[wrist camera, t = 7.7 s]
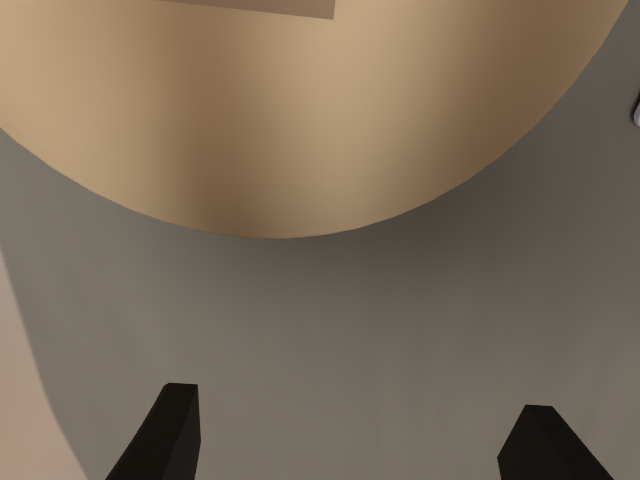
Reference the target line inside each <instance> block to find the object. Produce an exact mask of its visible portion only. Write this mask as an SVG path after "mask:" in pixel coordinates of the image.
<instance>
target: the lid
mask: <svg viewBox="0 0 640 480" xmlns="http://www.w3.org/2000/svg"><path fill="white" fill-rule="evenodd" d="M628 1H629V0H0V128H2V129H3V130H4V131H5V132H6V133H7V134H8V135H10V136H11V137H12V138H13V139H14V140H15V141H17V142H18V143H19V144H21V145H22V146H24V147H25V148H26V149H28V150H29V151H30V152H32V153H33V154H35V155H36V156H37V157H39V158H40V159H41V160H43V161H44V162H45V163H47V164H48V165H50V166H51V167H52V168H54V169H55V170H57V171H59V172H61V173H62V174H64V175H66V176H67V177H69V178H71V179H72V180H74V181H76V182H77V183H79V184H81V185H82V186H84V187H86V188H87V189H89V190H91V191H92V192H95V193H97V194H99V195H101V196H103V197H105V198H107V199H109V200H112V201H114V202H116V203H118V204H120V205H122V206H124V207H126V208H129V209H131V210H133V211H136V212H139V213H142V214H145V215H148V216H150V217H153V218H156V219H159V220H162V221H165V222H167V223H170V224H175V225H179V226H183V227H187V228H191V229H195V230H199V231H203V232H208V233H215V234H222V235H230V236H237V237H245V238H278V239H285V238H297V237H309V236H321V235H326V234H331V233H337V232H342V231H347V230H352V229H357V228H361V227H364V226H367V225H370V224H374V223H377V222H380V221H383V220H386V219H390V218H393V217H396V216H398V215H400V214H403V213H405V212H407V211H409V210H412V209H414V208H416V207H419V206H421V205H423V204H426V203H428V202H430V201H432V200H434V199H436V198H437V197H439V196H441V195H443V194H444V193H446V192H448V191H450V190H451V189H453V188H455V187H457V186H458V185H460V184H462V183H464V182H465V181H467V180H468V179H470V178H471V177H473V176H474V175H475V174H477V173H478V172H480V171H481V170H482V169H484V168H485V167H487V166H488V165H489V164H491V163H492V162H493V161H495V160H496V159H498V158H499V157H500V156H502V155H503V154H504V153H505V152H506V151H507V150H509V149H510V148H511V147H512V146H513V145H514V144H515V143H516V142H518V141H519V140H520V139H521V138H522V137H523V136H524V135H525V134H526V133H528V132H529V131H530V130H531V129H532V128H533V127H534V126H535V125H537V123H538V122H539V121H540V120H541V119H542V118H543V117H544V116H545V115H546V114H547V113H548V111H549V110H550V109H551V108H552V107H553V106H554V105H555V104H556V103H557V102H558V101H559V99H560V98H561V97H562V96H563V95H564V94H565V93H566V92H567V91H568V90H569V88H570V87H571V86H572V85H573V83H574V82H575V81H576V79H577V78H578V77H579V75H580V74H581V73H582V71H583V70H584V68H585V67H586V66H587V64H588V63H589V62H590V60H591V59H592V58H593V56H594V55H595V54H596V52H597V51H598V50H599V48H600V47H601V46H602V44H603V43H604V41H605V39H606V38H607V36H608V34H609V33H610V31H611V29H612V28H613V26H614V24H615V23H616V21H617V19H618V18H619V16H620V14H621V13H622V11H623V9H624V8H625V6H626V4H627V3H628Z"/></svg>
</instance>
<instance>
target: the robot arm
mask: <svg viewBox="0 0 640 480" xmlns="http://www.w3.org/2000/svg"><path fill="white" fill-rule="evenodd" d="M634 122H635V123H636V125H637V126H639V127H640V103H639V105H638V107H637V109H636V111H635V114H634ZM200 444H201V435H200V417H199V399H198V385H197V384H181V383H168V384H166V385H164V386H163V388H162V390H161V392H160V394H159V396H158V398H157V400H156V401H155V403H154V405H153V407H152V408H151V410H150V412H149V413H148V415H147V417H146V418H145V420H144V422H143V423H142V425H141V427H140V428H139V430H138V431H137V433H136V435H135V436H134V438H133V439H132V441H131V442H130V444H129V445H128V447H127V448H126V450H125V451H124V453H123V454H122V456H121V457H120V459H119V460H118V462H117V463H116V465H115V466H114V467H113V469H112V470H111V472H110V473H109V475H108V476H107V478H106V479H105V480H194V479H195V473H196V468H197V462H198V456H199V450H200ZM497 459H498V464H499V470H500V475H501V480H614V479H613V478H612V477H611V476H610V475H609V473H608V472H607V471H606V470H605V469H604V467H603V466H602V465H601V464H600V463H599V461H598V460H597V459H596V458H595V457H594V456H593V454H592V453H591V452H590V451H589V450H588V448H587V447H586V446H585V445H584V444H583V442H582V441H581V440H580V439H579V438H578V436H577V435H576V434H575V433H574V432H573V430H572V429H571V428H570V427H569V426H568V424H567V423H566V422H565V421H564V420H563V418H562V417H561V416H560V415H559V414H558V412H557V411H556V410H555V409H554V408H553V407H552V406H541V405H525V407H524V408H523V410H522V412H521V414H520V416H519V418H518V420H517V422H516V423H515V425H514V427H513V429H512V431H511V433H510V435H509V436H508V438H507V440H506V442H505V444H504V446H503V448H502V449H501V451H500V453H499V455H498V457H497Z"/></svg>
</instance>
